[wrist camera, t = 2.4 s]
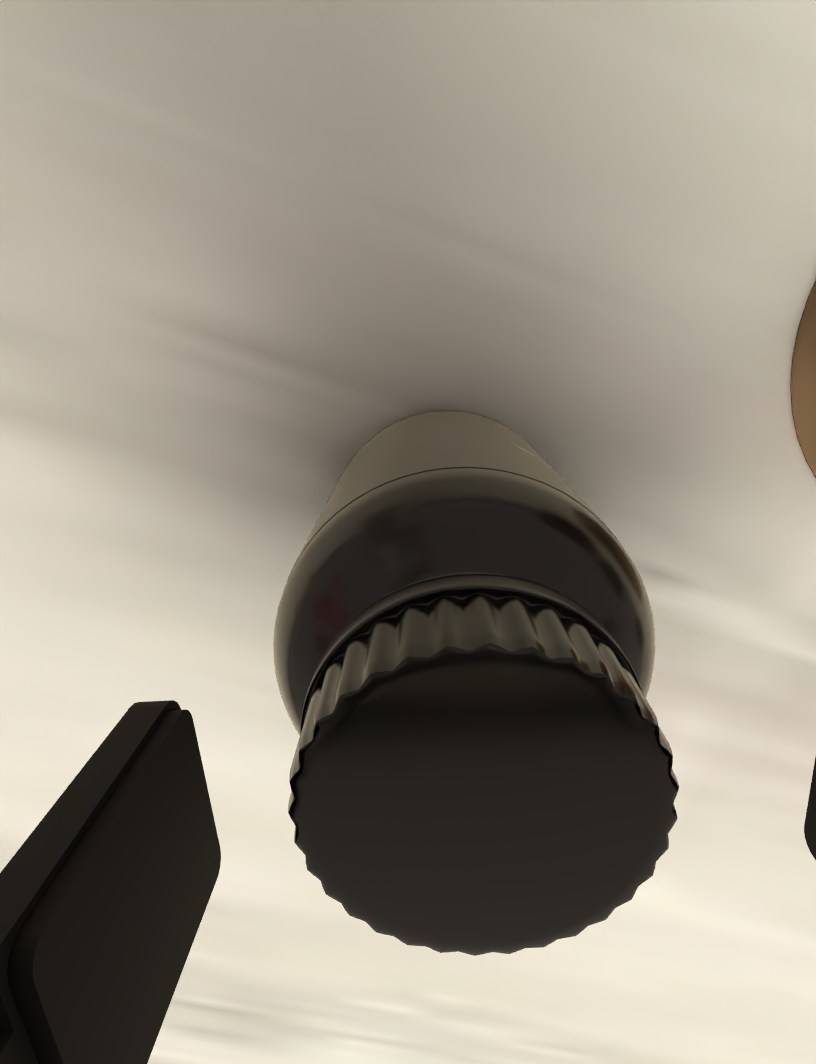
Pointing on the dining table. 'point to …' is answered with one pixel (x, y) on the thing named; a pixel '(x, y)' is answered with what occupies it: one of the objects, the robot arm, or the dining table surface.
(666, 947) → the dining table surface
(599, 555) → the supplement bottle
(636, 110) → the dining table surface
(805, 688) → the dining table surface
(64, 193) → the dining table surface
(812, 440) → the stand
